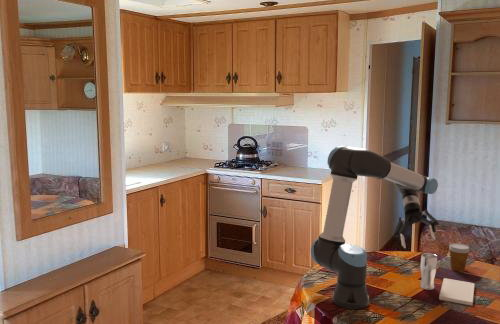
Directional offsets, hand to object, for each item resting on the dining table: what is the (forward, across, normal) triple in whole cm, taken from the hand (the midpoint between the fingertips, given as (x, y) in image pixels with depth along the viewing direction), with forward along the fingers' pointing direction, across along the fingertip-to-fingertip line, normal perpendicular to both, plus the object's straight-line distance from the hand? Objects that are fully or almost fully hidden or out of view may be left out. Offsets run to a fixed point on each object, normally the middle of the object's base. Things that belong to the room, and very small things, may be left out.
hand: (418, 242), depth 211 cm
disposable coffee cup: (-10, -5, -41) cm, 42 cm away
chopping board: (+14, -6, -22) cm, 27 cm away
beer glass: (+11, +5, -18) cm, 22 cm away
